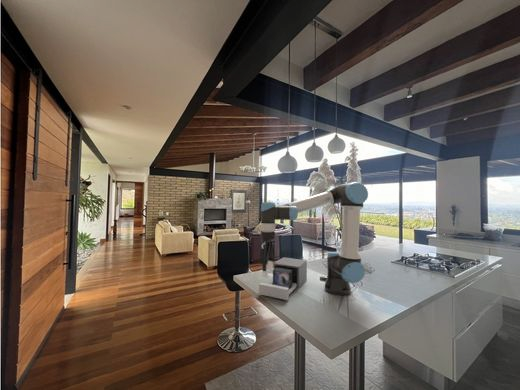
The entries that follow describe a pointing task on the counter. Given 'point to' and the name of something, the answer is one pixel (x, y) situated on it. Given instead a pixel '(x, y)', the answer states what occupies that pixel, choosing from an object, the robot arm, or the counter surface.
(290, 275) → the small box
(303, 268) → the housing
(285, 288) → the grey drawer
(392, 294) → the counter surface
